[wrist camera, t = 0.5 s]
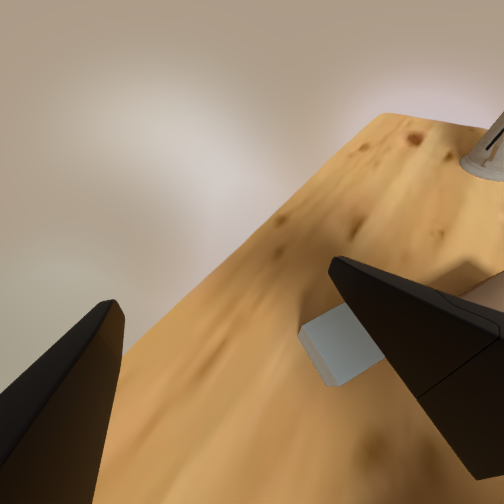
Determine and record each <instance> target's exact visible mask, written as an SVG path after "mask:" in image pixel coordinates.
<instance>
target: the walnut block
mask: <svg viewBox="0 0 504 504" xmlns="http://www.w3.org/2000/svg"><path fill="white" fill-rule="evenodd" d="M458 297H459V298H461V299H464V300H467V301H470V302H473V303H476V304H480V305H483V306H486V307H489V308H492V309H495V310H498V311H501V312H504V271H502V272H500V273H498V274H496V275H494V276H492V277H490V278H488V279H486V280H484V281H482V282H480V283H479V284H477V285H475V286H474V287H472V288H471V289H469V290H467V291H466V292H464V293H463V294H461V295H459V296H458Z"/></svg>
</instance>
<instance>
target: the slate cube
mask: <svg viewBox="0 0 504 504" xmlns="http://www.w3.org/2000/svg"><path fill="white" fill-rule="evenodd" d="M298 338H299V340H300V342H301V344H302V345H303V347H304V349H305V350H306V352H307V354H308V356H309V357H310V359H311V361H312V363H313V364H314V366H315V368H316V369H317V371H318V373H319V375H320V376H321V378H322V380H323V381H324V383H325V385H326V386H338V387H340V386H342V385H343V384H345V383H346V382H348V381H349V380H351V379H352V378H354V377H356V376H357V375H359V374H360V373H362V372H363V371H365V370H367V369H368V368H370V367H371V366H373V365H374V364H376V363H377V362H379V361H381V360H382V359H384V358H385V356H384V355H383V353H382V352H381V350H380V349H379V348H378V346H377V345H376V344H375V342H374V341H373V339H372V338H371V337H370V335H369V334H368V333H367V331H366V330H365V329H364V327H363V326H362V324H361V323H360V322H359V320H358V319H357V318H356V316H355V315H354V313H353V312H352V311H351V309H350V308H349V307H348V305H347V304H346V302H344V303H342V304H340V305H338V306H337V307H335V308H333V309H331V310H329V311H328V312H326V313H324V314H322V315H320V316H319V317H317V318H315V319H313V320H311V321H309V322H308V323H306V324H304V325H302V327H301V330H300V332H299V334H298Z"/></svg>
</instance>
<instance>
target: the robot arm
mask: <svg viewBox="0 0 504 504" xmlns="http://www.w3.org/2000/svg"><path fill="white" fill-rule="evenodd" d="M328 274H329V276H330V278H331V279H332V281H333V283H334V284H335V286H336V288H337V289H338V291H339V293H340V294H341V296H342V298H343V299H344V301H345V302H346V304H347V305H348V307H349V308H350V309H351V311H352V312H353V313H354V315H355V316H356V318H357V319H358V320H359V322H360V323H361V324H362V326H363V327H364V329H365V330H366V331H367V333H368V334H369V335H370V337H371V338H372V339H373V341H374V342H375V344H376V345H377V346H378V348H379V349H380V350H381V352H382V353H383V355H384V356H385V357H386V359H387V360H388V361H389V363H390V364H391V365H392V367H393V368H394V370H395V371H396V372H397V374H398V375H399V376H400V378H401V379H402V381H403V382H404V383H405V385H406V386H407V387H408V389H409V390H410V391H411V393H412V394H413V396H414V397H415V398H416V400H417V401H418V403H419V404H420V405H421V407H422V408H423V410H424V411H425V412H426V414H427V415H428V416H429V418H430V419H431V420H432V422H433V423H434V425H435V426H436V427H437V429H438V430H439V431H440V433H441V434H442V436H443V437H444V438H445V440H446V441H447V442H448V444H449V445H450V447H451V448H452V449H453V451H454V452H455V453H456V455H457V456H458V457H459V459H460V460H461V462H462V463H463V464H464V466H465V467H466V468H467V470H468V471H469V472H470V474H471V475H472V476H473V477H474V478H475V479H476V480H482V479H486V478H491V477H496V476H501V475H504V312H501V311H498V310H495V309H492V308H489V307H486V306H483V305H480V304H476V303H473V302H470V301H467V300H464V299H461V298H459V297H456V296H453V295H450V294H447V293H444V292H442V291H439V290H434V289H433V288H430V287H428V286H425V285H422V284H419V283H416V282H414V281H411V280H408V279H405V278H402V277H400V276H397V275H394V274H391V273H389V272H386V271H383V270H380V269H377V268H375V267H372V266H369V265H366V264H364V263H361V262H358V261H355V260H352V259H350V258H347V257H344V256H337V257H334V258H333V259H332V261H331V264H330V267H329V270H328ZM124 326H125V316H124V313H123V311H122V309H121V308H120V306H119V304H118V302H117V301H116V300H114V299H112V300H106V301H102V302H100V303H98V304H97V305H96V306H95V307H94V308H93V309H92V310H91V311H90V312H88V313H87V314H86V315H85V316H84V317H83V318H82V319H81V320H80V321H79V322H78V323H77V324H75V325H74V326H73V327H72V328H71V329H70V330H69V331H68V332H67V333H66V334H65V335H64V336H62V337H61V338H60V339H59V340H58V341H57V342H56V343H55V344H54V345H53V346H52V347H51V348H50V349H48V350H47V351H46V352H45V353H44V354H43V355H42V356H41V357H40V358H39V359H38V360H36V361H35V362H34V363H33V364H32V365H31V366H30V367H29V368H28V369H27V370H26V371H25V372H23V373H22V374H21V375H20V376H19V377H18V378H17V379H16V380H15V381H14V382H13V383H11V384H10V385H9V386H8V387H7V388H6V389H5V390H4V391H3V392H2V393H1V394H0V504H92V501H93V496H94V492H95V487H96V482H97V477H98V473H99V468H100V463H101V458H102V453H103V449H104V444H105V439H106V434H107V430H108V425H109V420H110V415H111V411H112V406H113V401H114V396H115V392H116V387H117V382H118V377H119V372H120V367H121V360H122V349H123V338H124Z"/></svg>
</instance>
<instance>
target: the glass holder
mask: <svg viewBox="0 0 504 504" xmlns="http://www.w3.org/2000/svg"><path fill="white" fill-rule="evenodd" d="M459 163H460V166H461V167H462V168H463V169H464V170H465V171H467V172H468V173H470V174H472V175H474V176H477V177H480V178H484V179H488V180H493V181H504V112H503V113H502V114H501V116H500V117H499V118H498V119H497V120H496V122H495V123H494V124H493V125H492V126H491V128H490V129H489V130H488V131H487V132H486V134H485V135H484V136H483V137H482V138H481V140H480V141H479V142H478V143H477V144H476V146H475V147H474V148H473V149H472V150H471V152H470V153H468V154H467V155H465V156H464V157H463V158H461V160H460V162H459Z"/></svg>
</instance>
